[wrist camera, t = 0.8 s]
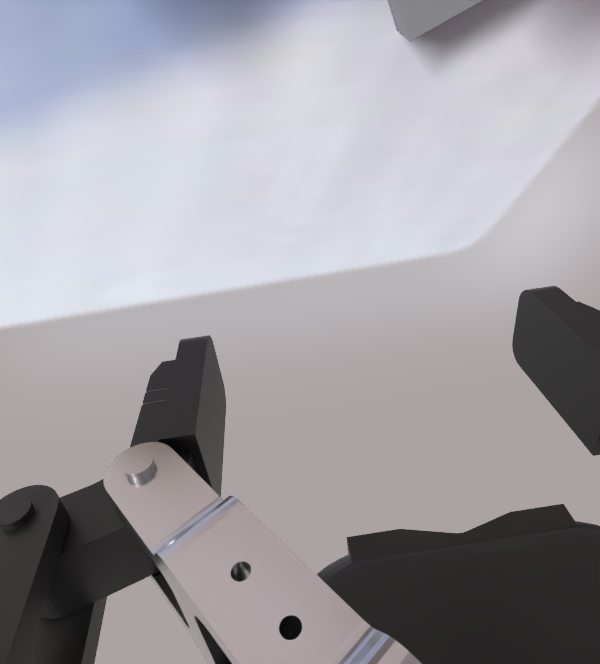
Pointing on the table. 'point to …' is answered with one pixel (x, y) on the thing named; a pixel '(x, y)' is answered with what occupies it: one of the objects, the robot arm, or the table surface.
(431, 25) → the control board
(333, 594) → the robot arm
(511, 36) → the table surface
